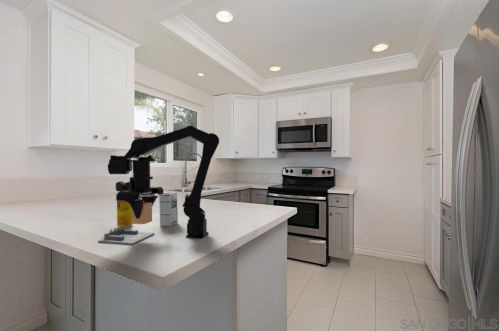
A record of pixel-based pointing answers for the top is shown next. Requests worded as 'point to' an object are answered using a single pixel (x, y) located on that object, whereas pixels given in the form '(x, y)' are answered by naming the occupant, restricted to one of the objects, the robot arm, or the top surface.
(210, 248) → the top surface
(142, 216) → the block
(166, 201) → the syrup box
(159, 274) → the top surface
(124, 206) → the beer can
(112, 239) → the flat gray board
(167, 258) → the top surface
